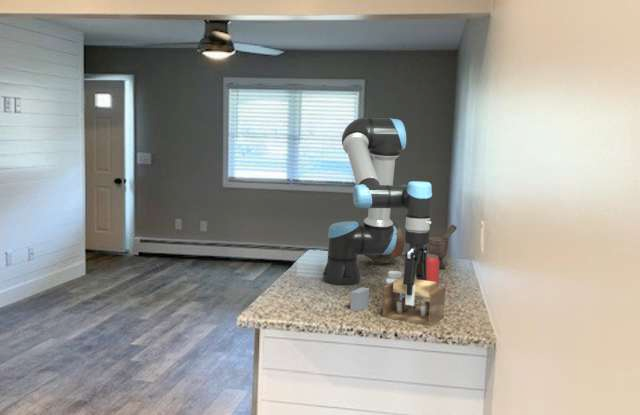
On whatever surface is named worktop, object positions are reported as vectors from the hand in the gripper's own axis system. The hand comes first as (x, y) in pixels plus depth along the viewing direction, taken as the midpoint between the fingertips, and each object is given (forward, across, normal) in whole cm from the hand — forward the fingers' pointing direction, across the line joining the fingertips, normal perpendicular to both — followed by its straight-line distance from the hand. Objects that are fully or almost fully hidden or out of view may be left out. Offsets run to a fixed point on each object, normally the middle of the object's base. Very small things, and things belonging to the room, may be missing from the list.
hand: (414, 302), depth 191 cm
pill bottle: (+5, +11, +11) cm, 17 cm away
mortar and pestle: (+5, +81, +18) cm, 83 cm away
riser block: (+5, 0, +19) cm, 20 cm away
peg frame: (+5, 0, 0) cm, 5 cm away
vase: (+5, +71, +42) cm, 83 cm away
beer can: (+5, +44, +10) cm, 46 cm away
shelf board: (-3, 0, 0) cm, 3 cm away
